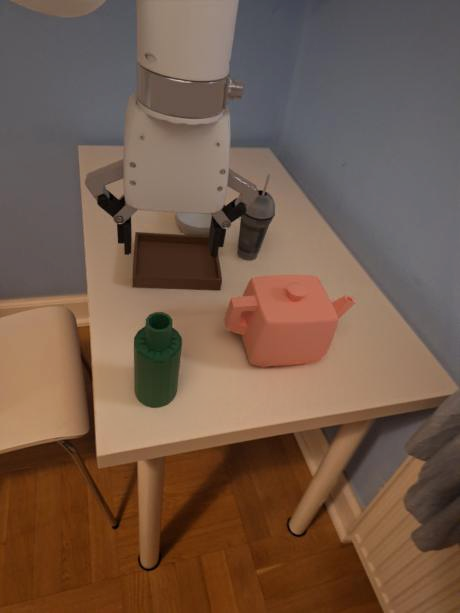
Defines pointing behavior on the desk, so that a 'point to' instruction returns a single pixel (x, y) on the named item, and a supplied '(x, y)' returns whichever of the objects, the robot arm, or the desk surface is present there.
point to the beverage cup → (255, 224)
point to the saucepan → (194, 223)
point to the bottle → (157, 361)
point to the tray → (174, 262)
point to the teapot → (285, 319)
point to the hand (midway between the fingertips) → (171, 248)
